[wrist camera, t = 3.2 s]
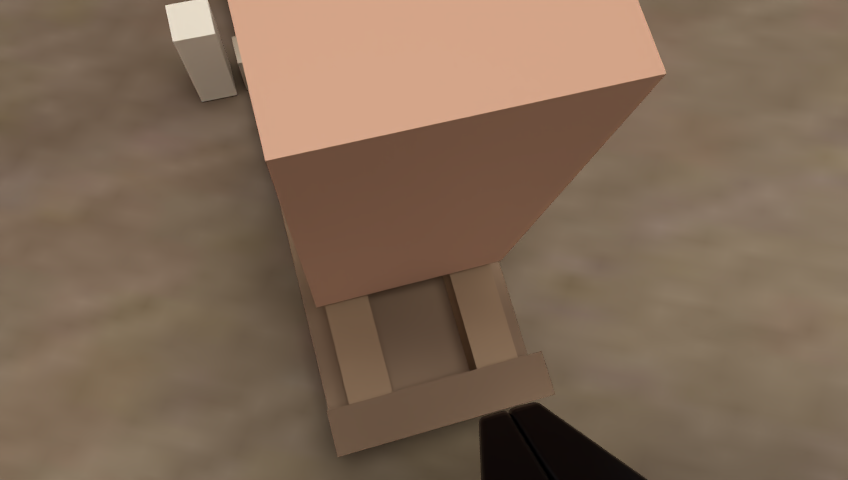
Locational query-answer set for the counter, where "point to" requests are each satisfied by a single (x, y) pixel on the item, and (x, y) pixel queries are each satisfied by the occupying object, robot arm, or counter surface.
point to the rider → (431, 123)
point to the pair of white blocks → (201, 49)
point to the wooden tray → (418, 354)
